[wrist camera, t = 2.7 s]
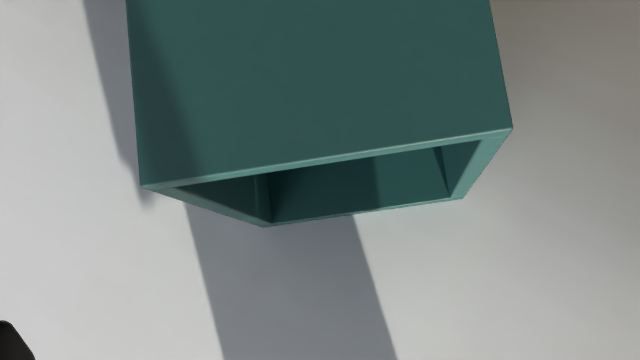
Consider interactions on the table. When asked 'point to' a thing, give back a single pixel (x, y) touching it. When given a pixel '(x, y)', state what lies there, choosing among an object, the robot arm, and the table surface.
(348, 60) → the teal box
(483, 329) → the table surface
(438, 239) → the table surface
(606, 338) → the table surface
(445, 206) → the table surface
